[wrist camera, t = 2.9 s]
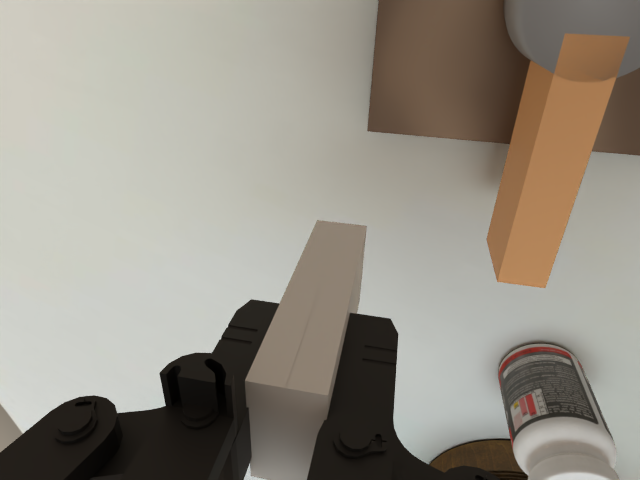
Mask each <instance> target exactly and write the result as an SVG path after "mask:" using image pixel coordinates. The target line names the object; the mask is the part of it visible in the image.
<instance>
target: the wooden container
mask: <svg viewBox="0 0 640 480" xmlns="http://www.w3.org/2000/svg"><path fill="white" fill-rule="evenodd" d="M463 465H464V466H471V467H477V468H481V469H483V470H485V471H487V472H489V473H491V474H493V475H495V476H496V477H498V478H499V479H500V480H528V475H527V474H526V473H525V472H524V471H523V470H522V469H521V468H520V466H519V465H518V463H517V461H516V459H515V456H514V453H513V448H512V443H511V441H509V440H487V441H478V442H473V443H468V444H464V445H461V446H458V447H455V448H453V449H451V450H449V451H447V452H445V453H443V454H442V455H440V456H439V457H437V458H436V459H435V460H434V461H433V462H432V463H431V464H430V466H432V467H434V468H436V469H438V470H440V471H442V472H444V473H445V472H446V471H447V470H448V469H450V468H454V467H459V466H463Z"/></svg>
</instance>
